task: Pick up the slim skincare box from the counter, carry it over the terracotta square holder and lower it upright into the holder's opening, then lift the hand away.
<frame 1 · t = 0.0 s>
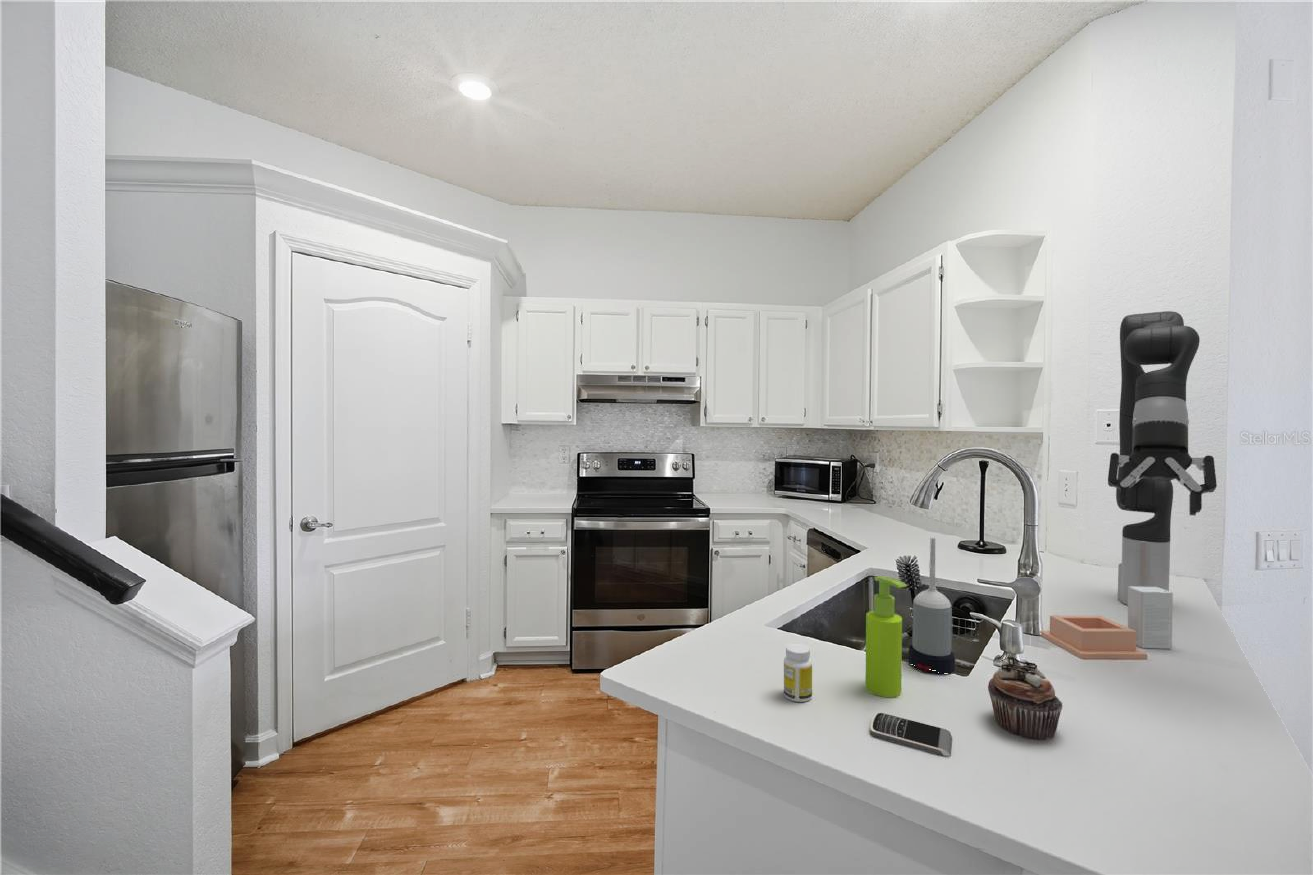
hand: (1159, 511, 97), 31 cm above the counter, tool tilted 20°, fingers open, 8 cm apart
skincare box: (1148, 645, 116), on the counter
bottle holder: (1090, 646, 115), on the counter
soap dispenser: (885, 691, 97), on the counter
humidifier: (931, 666, 107), on the counter
cupcake: (1023, 726, 86), on the counter
supplement bottle: (797, 697, 95), on the counter
cell phone: (910, 740, 83), on the counter
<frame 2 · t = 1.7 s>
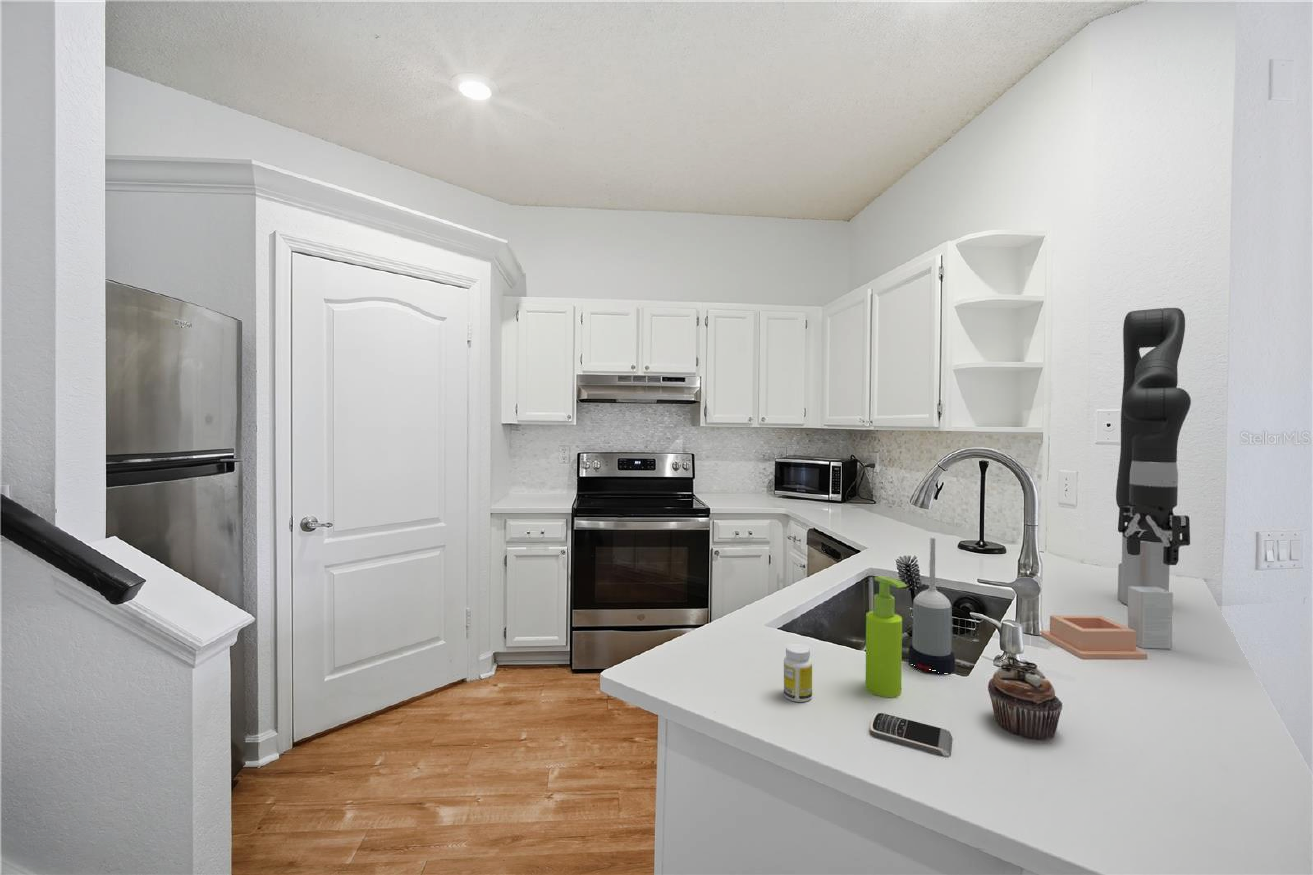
hand: (1151, 559, 116), 18 cm above the counter, tool pointing down, fingers open, 8 cm apart
nothing on the counter moved.
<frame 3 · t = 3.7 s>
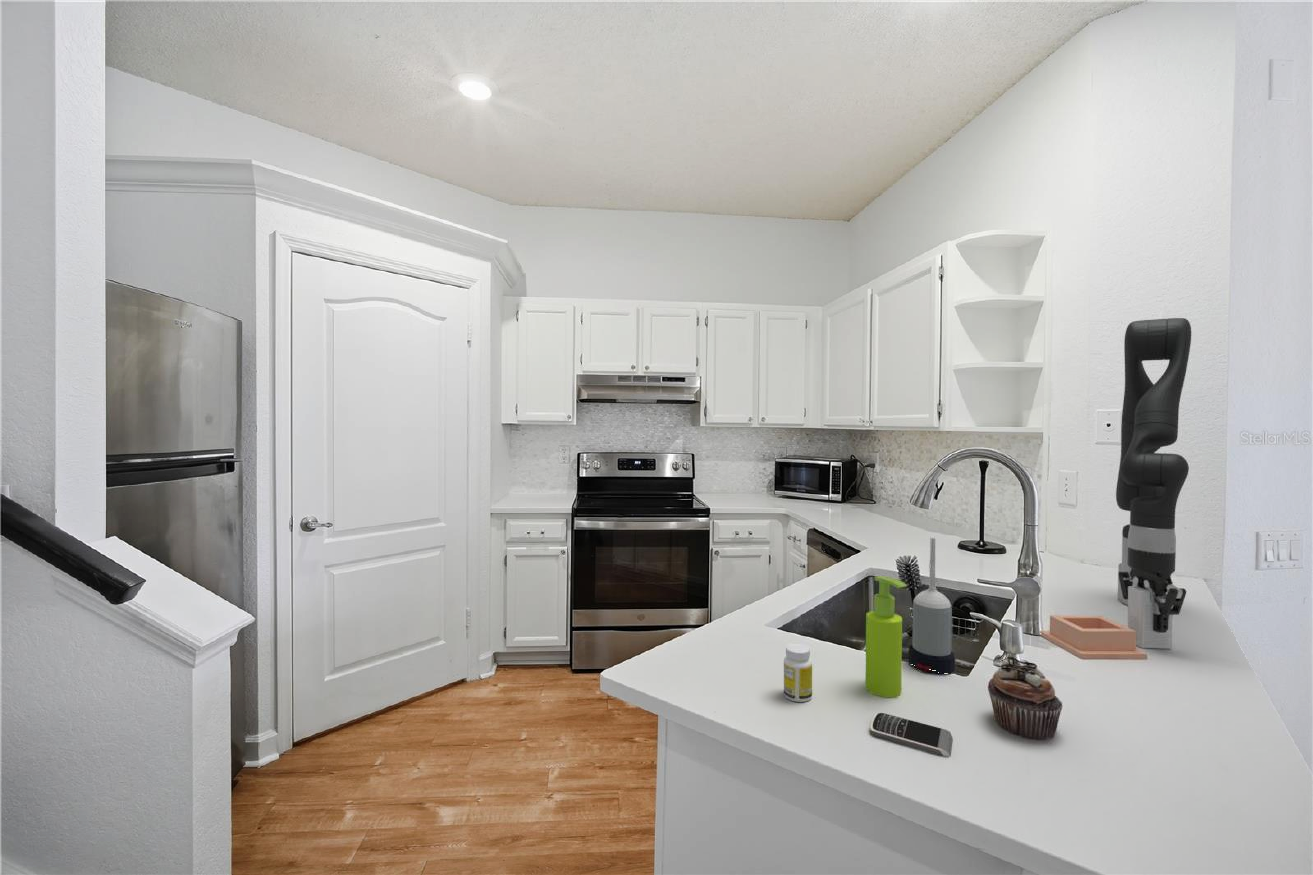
hand: (1149, 626, 116), 4 cm above the counter, tool pointing down, fingers closed on skincare box, 4 cm apart
skincare box: (1148, 645, 116), on the counter, touching gripper
everything else where it was.
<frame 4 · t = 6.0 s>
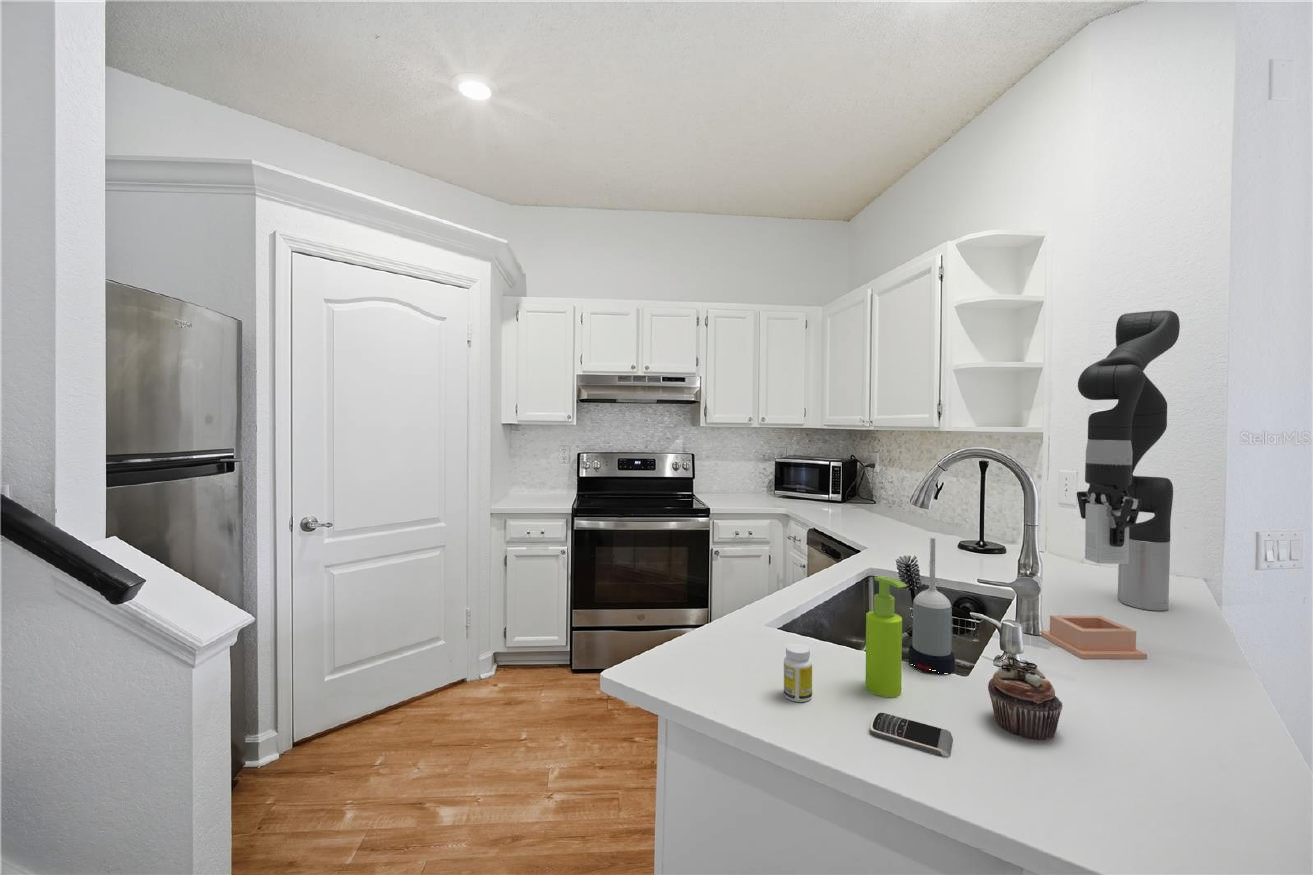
hand: (1106, 543, 114), 22 cm above the counter, tool pointing down, fingers closed on skincare box, 4 cm apart
skincare box: (1105, 562, 114), point 18 cm above the counter, touching gripper
everything else where it was.
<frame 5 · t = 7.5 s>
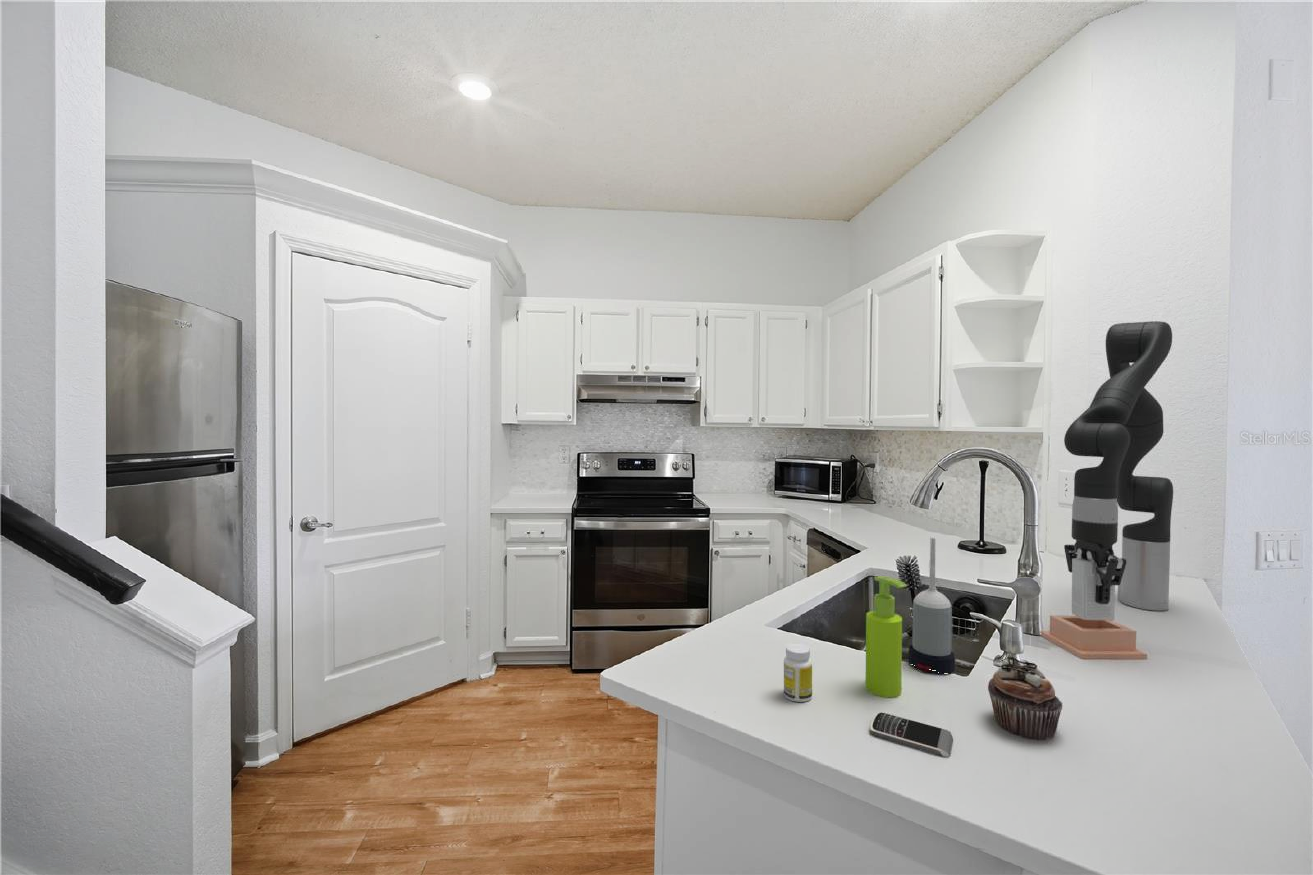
hand: (1092, 599, 115), 10 cm above the counter, tool pointing down, fingers closed on skincare box, 4 cm apart
skincare box: (1091, 618, 115), point 6 cm above the counter, touching gripper
everything else where it was.
when the fingers open (6 cm above the counter, at t = 8.7 s): skincare box drops 1 cm, resting on bottle holder.
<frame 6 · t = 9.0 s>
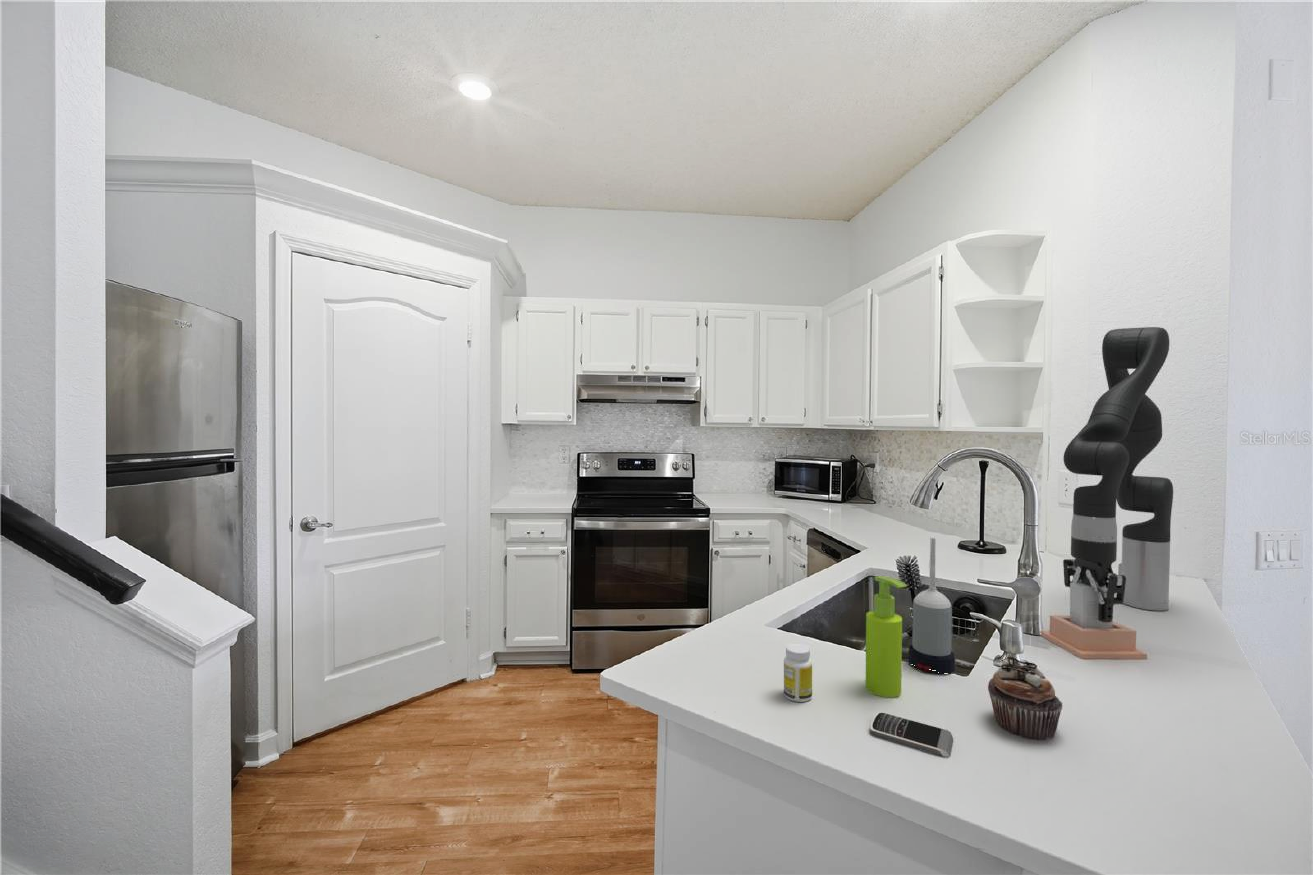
hand: (1091, 615, 115), 7 cm above the counter, tool pointing down, fingers open, 6 cm apart
skincare box: (1090, 642, 116), point 1 cm above the counter, touching bottle holder
everything else where it was.
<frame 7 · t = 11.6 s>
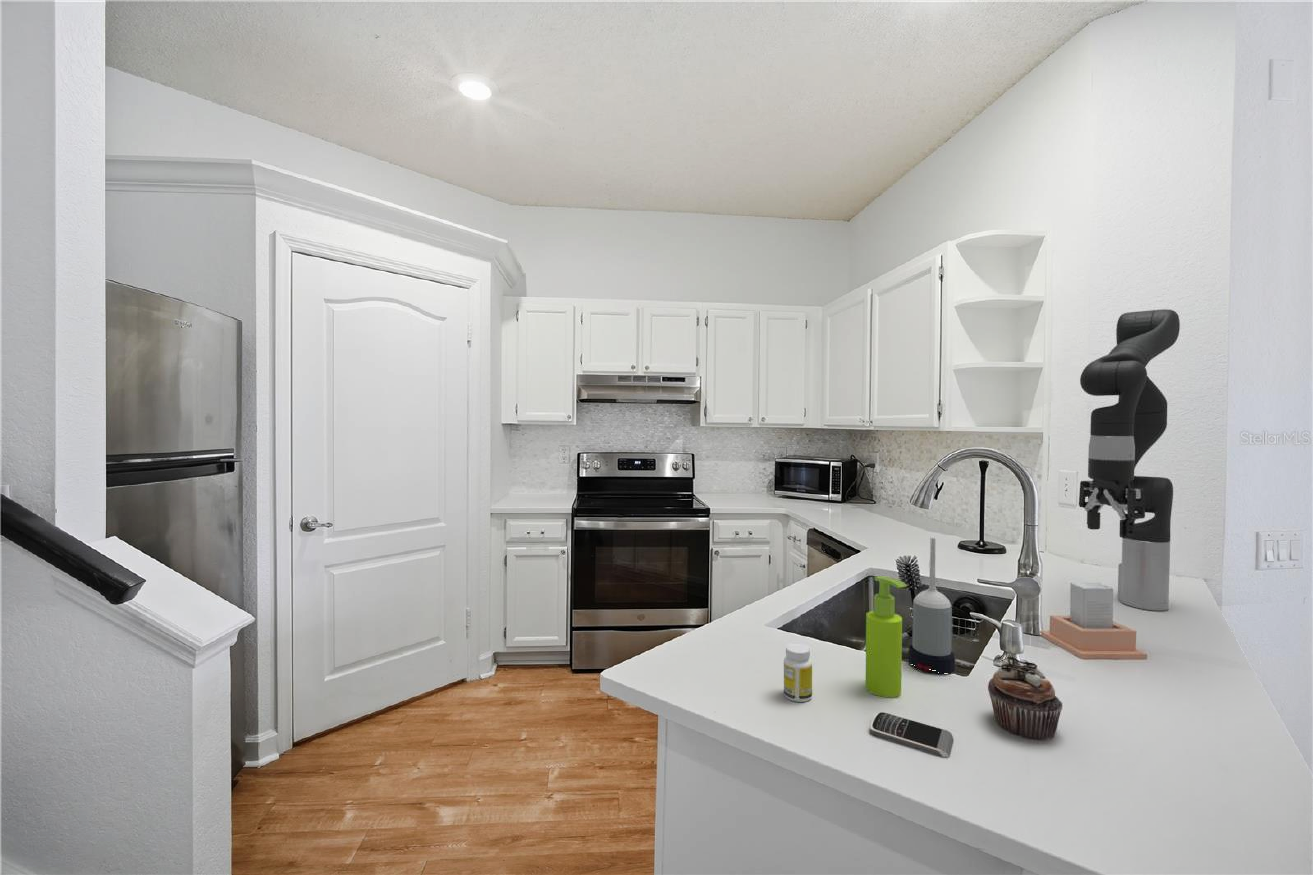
hand: (1109, 533, 116), 24 cm above the counter, tool pointing down, fingers open, 8 cm apart
nothing on the counter moved.
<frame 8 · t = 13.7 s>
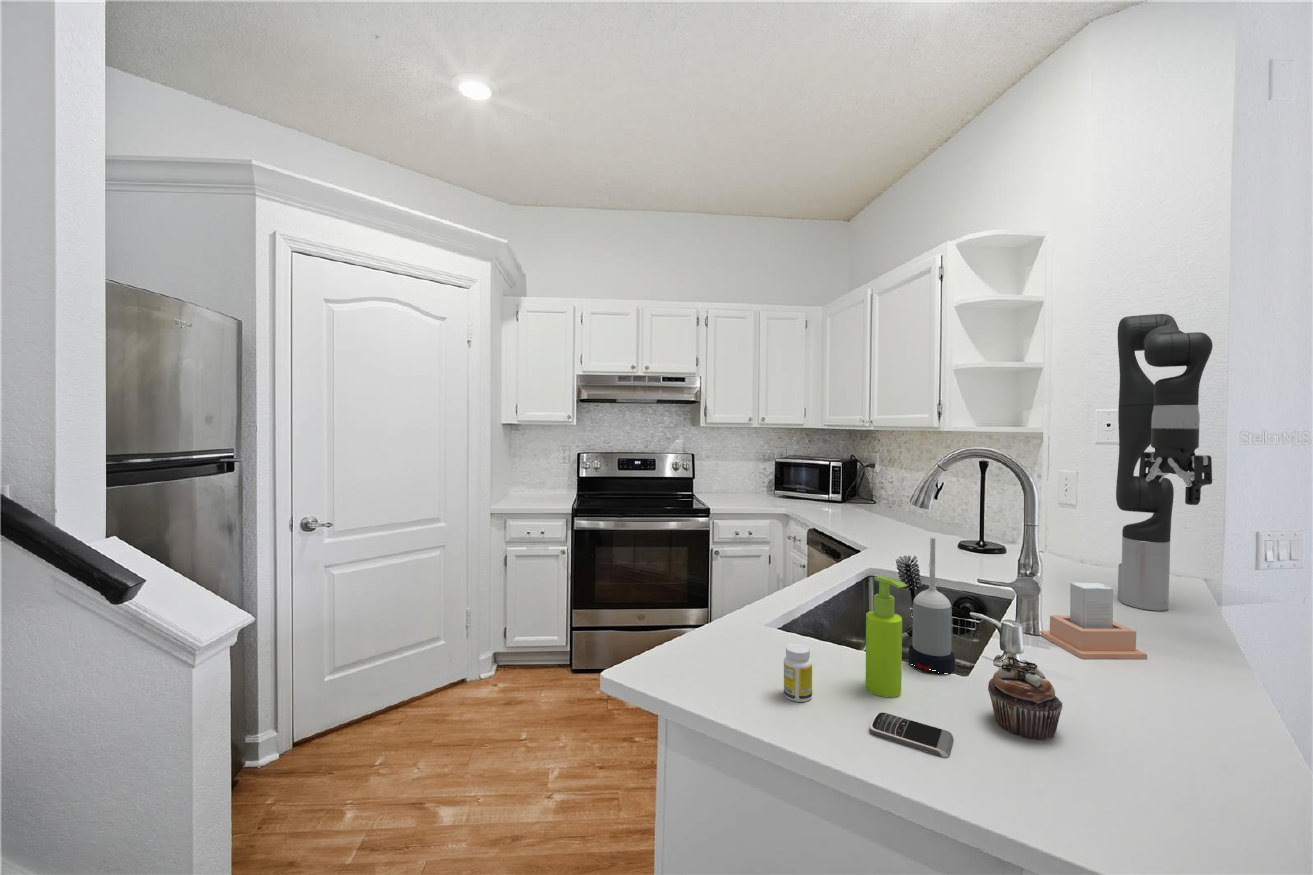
hand: (1172, 501, 118), 30 cm above the counter, tool pointing down, fingers open, 8 cm apart
nothing on the counter moved.
at the end: skincare box 0.3 cm off-centre on the bottle holder, point 0.8 cm above the bottle holder's base; skincare box tilted 0°; the gripper is holding nothing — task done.
